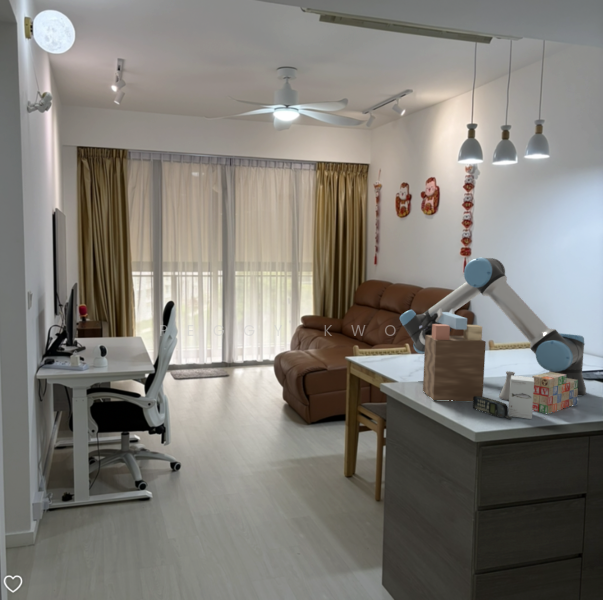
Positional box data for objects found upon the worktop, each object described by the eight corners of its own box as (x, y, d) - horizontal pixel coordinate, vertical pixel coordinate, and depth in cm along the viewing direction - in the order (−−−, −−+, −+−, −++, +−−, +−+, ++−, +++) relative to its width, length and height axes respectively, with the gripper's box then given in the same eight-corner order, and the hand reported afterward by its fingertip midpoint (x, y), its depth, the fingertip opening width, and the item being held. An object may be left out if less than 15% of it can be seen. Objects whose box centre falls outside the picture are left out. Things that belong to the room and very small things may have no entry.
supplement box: (507, 416, 185) (510, 378, 184) (508, 411, 192) (510, 374, 191) (532, 419, 182) (534, 381, 181) (532, 414, 189) (534, 376, 188)
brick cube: (431, 337, 208) (432, 324, 208) (445, 337, 208) (445, 324, 208) (435, 339, 203) (436, 325, 203) (449, 339, 203) (449, 326, 203)
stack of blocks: (559, 401, 208) (562, 368, 207) (577, 405, 203) (579, 371, 202) (529, 410, 194) (532, 375, 193) (547, 414, 189) (549, 378, 188)
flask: (520, 401, 205) (522, 374, 204) (500, 400, 207) (501, 373, 206) (517, 397, 212) (519, 370, 212) (497, 395, 214) (498, 369, 213)
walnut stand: (422, 391, 216) (425, 334, 215) (468, 392, 217) (471, 335, 216) (433, 401, 202) (436, 340, 201) (482, 401, 203) (485, 341, 202)
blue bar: (437, 321, 223) (437, 311, 223) (447, 322, 223) (447, 312, 223) (455, 329, 201) (456, 318, 201) (466, 329, 201) (467, 318, 201)
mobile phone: (471, 395, 193) (507, 404, 180) (478, 394, 195) (513, 403, 182) (471, 409, 194) (506, 420, 181) (477, 408, 195) (513, 419, 182)
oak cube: (463, 338, 209) (464, 324, 208) (476, 338, 209) (477, 325, 209) (468, 340, 204) (468, 326, 203) (481, 340, 204) (482, 326, 204)
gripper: (451, 343, 237) (470, 321, 216) (411, 342, 236) (426, 320, 215) (449, 326, 240) (467, 303, 219) (409, 325, 239) (424, 302, 218)
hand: (447, 311), depth 217 cm, fingers closed on blue bar, 4 cm apart
